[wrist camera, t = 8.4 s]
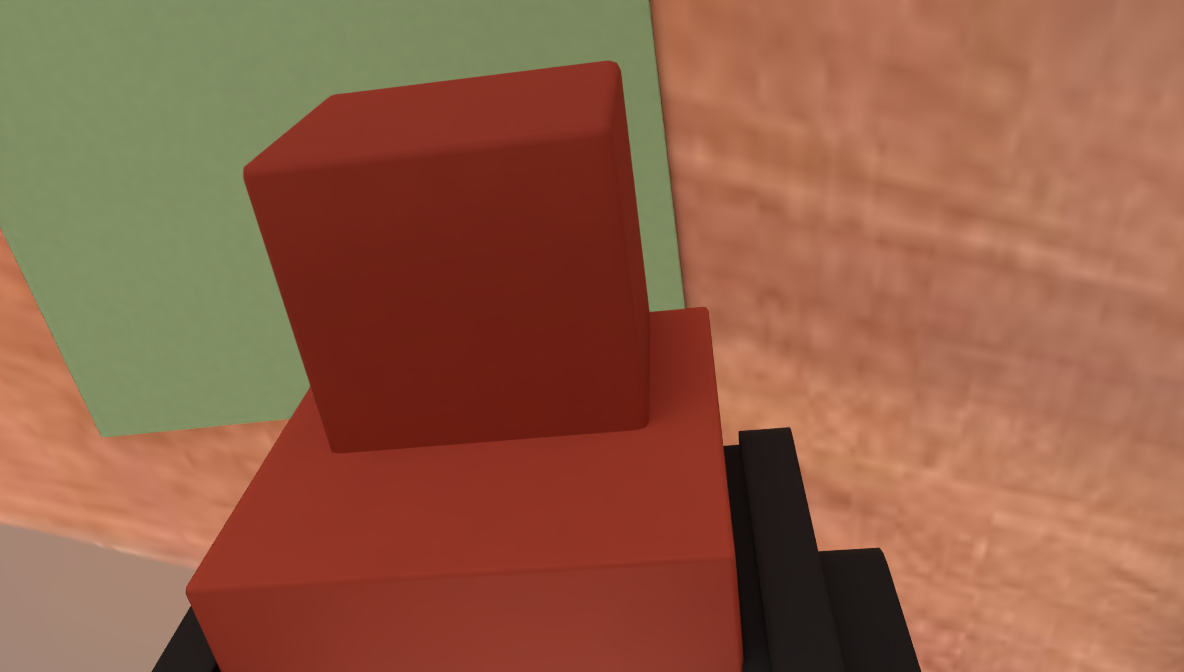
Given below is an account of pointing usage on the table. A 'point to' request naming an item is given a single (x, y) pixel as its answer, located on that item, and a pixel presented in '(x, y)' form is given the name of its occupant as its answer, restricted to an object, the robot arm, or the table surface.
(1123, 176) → the table surface
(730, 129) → the table surface
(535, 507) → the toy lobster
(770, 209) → the table surface
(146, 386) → the green cloth
